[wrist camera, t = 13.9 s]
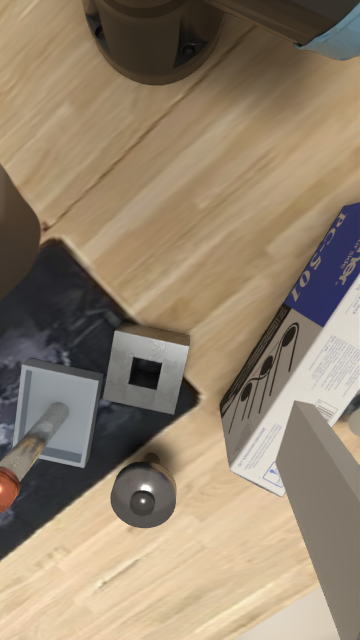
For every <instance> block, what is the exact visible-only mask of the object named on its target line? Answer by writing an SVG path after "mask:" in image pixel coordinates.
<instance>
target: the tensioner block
mask: <svg viewBox="0 0 360 640" xmlns="http://www.w3.org/2000/svg"><path fill="white" fill-rule="evenodd" d="M189 343H190V336H189V335H185V334H180V333H175V332H171V331H166V330H161V329H157V328H152V327H147V326H143V325H138V324H134V323H129V322H124V321H123V322H122V323H121V325H120V326H119V327H118V328H117V329H116V330H115V333H114V339H113V344H112V350H111V356H110V362H109V367H108V373H107V379H106V385H105V390H104V396H103V399H104V400H109V401H113V402H118V403H123V404H127V405H132V406H137V407H141V408H146V409H151V410H155V411H160V412H165V413H169V414H174V412H175V407H176V403H177V399H178V394H179V390H180V385H181V381H182V377H183V372H184V368H185V363H186V359H187V355H188V350H189ZM137 358H142V359H147V360H151V361H156V362H160V363H162V368H161V373H160V375H159V374H154V373H149V372H145V371H140V370H135V367H136V361H137Z"/></svg>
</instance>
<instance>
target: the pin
mask: <svg viewBox="0 0 360 640" xmlns="http://www.w3.org/2000/svg"><path fill="white" fill-rule="evenodd" d="M68 416H69V408H68V406H67V405H66V404H64V403H62V402H55V403H53V404H52V405H51V406H50V407H49V408H48V410H47V411H46V412H45V413H44V414H43V415H42V416H41V417H40V419H39V420H38V421H37V422H36V423H35V424H34V425H33V426H32V427H31V429H30V430H29V431H28V432H27V433H26V434H25V435H24V436H23V437H22V439H21V440H20V441H19V442H18V443H17V444H16V445H15V446H14V447H13V449H12V450H11V451H10V452H9V453H8V454H7V455H6V456H5V457H4V459H3V460H2V461H1V462H0V513H1V512H4V511H5V510H7V509H8V508H9V506H10V505H11V504H12V502H13V501H14V499H15V498H16V497H17V495H18V494H19V491H20V481H21V479H22V478H23V477H24V475H25V474H26V473H27V471H28V470H29V469H30V467H31V466H32V465H33V463H34V462H35V461H36V459H37V458H38V457H39V455H40V454H41V452H42V451H43V450H44V448H45V447H46V446H47V444H48V443H49V442H50V440H51V439H52V438H53V436H54V435H55V434H56V432H57V431H58V430H59V428H60V427H61V425H62V424H63V423H64V421H65V420H66V419H67V417H68Z"/></svg>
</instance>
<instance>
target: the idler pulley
mask: <svg viewBox="0 0 360 640" xmlns="http://www.w3.org/2000/svg"><path fill="white" fill-rule="evenodd" d="M175 504H176V483H175V480H174V478H173V477H172V475H171V474H170V473H169V471H167V470H166V469H165V468H164V467H162V466H160V465H159V457H158V456H157V455H156V454H154V453H147V454H146V455H144V457H143V461H141V462H135V463H132V464H129V465H127V466H126V467H124V468H123V469H122V470H121V471H120V472H119V474H118V475H117V477H116V480H115V483H114V486H113V489H112V492H111V505H112V508H113V510H114V512H115V513H116V515H117V516H118V517H119V518H120V519H121V520H122V521H124V522H125V523H127V524H129V525H131V526H134V527H138V528H152V527H156V526H158V525H161V524H162V523H164V522H165V521H167V520H168V519H169V518H170V516H171V515H172V513H173V511H174V509H175Z"/></svg>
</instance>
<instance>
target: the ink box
mask: <svg viewBox="0 0 360 640" xmlns="http://www.w3.org/2000/svg"><path fill="white" fill-rule="evenodd" d="M359 390H360V202H359V203H355V204H351V205H347V206H344V207H343V209H342V211H341V212H340V214H339V215H338V217H337V219H336V220H335V222H334V223H333V225H332V227H331V228H330V230H329V232H328V233H327V235H326V236H325V238H324V240H323V241H322V243H321V244H320V246H319V247H318V249H317V251H316V252H315V254H314V255H313V257H312V259H311V260H310V262H309V263H308V265H307V267H306V268H305V270H304V271H303V273H302V275H301V276H300V278H299V279H298V281H297V283H296V284H295V286H294V287H293V289H292V291H291V292H290V294H289V295H288V297H287V299H286V300H285V302H284V303H283V305H282V306H281V308H280V309H279V311H278V313H277V315H276V316H275V318H274V319H273V321H272V322H271V324H270V326H269V327H268V329H267V330H266V332H265V333H264V335H263V336H262V338H261V340H260V341H259V343H258V344H257V346H256V347H255V349H254V350H253V352H252V353H251V355H250V358H249V359H248V361H247V363H246V364H245V366H244V367H243V369H242V371H241V372H240V374H239V375H238V377H237V378H236V380H235V381H234V383H233V384H232V386H231V388H230V390H229V391H228V392H227V394H226V395H225V397H224V398H223V400H222V402H221V404H220V413H221V418H222V425H223V431H224V437H225V444H226V451H227V457H228V463H229V468H230V471H232V472H233V473H235V474H237V475H238V476H240V477H242V478H244V479H246V480H248V481H249V482H251V483H253V484H255V485H257V486H259V487H261V488H263V489H265V490H267V491H269V492H271V493H274V494H276V495H277V496H280V497H283V496H284V494H285V493H286V491H285V488H284V485H283V483H282V480H281V477H280V474H279V472H278V469H277V466H276V464H275V461H276V457H277V454H278V451H279V448H280V445H281V441H282V438H283V435H284V432H285V428H286V425H287V422H288V419H289V416H290V412H291V409H292V406H293V403H294V400H296V401H301V402H306V403H310V404H314V405H315V406H316V408H317V409H318V410H319V412H320V413H321V414H322V416H323V417H324V418H325V420H326V421H327V423H328V424H329V425H330V427H331V428H332V427H333V426H334V425H335V423H336V422H337V420H338V419H339V418H340V416H341V415H342V414H343V412H344V411H345V409H346V408H347V406H348V405H349V404H350V402H351V401H352V400H353V398H354V397H355V395H356V394H357V392H358V391H359Z"/></svg>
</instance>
